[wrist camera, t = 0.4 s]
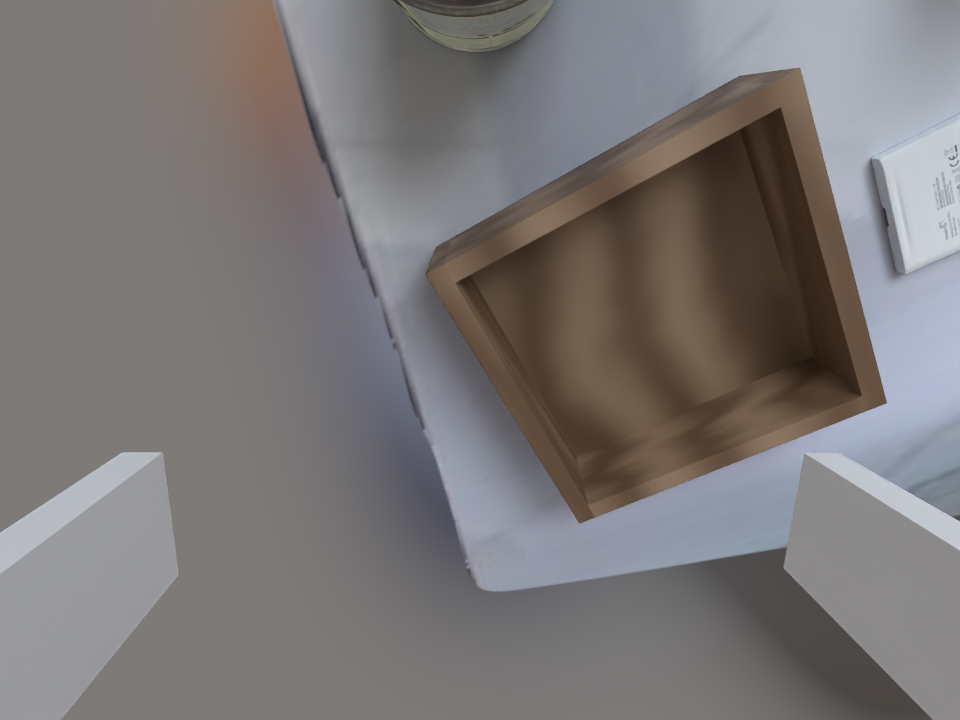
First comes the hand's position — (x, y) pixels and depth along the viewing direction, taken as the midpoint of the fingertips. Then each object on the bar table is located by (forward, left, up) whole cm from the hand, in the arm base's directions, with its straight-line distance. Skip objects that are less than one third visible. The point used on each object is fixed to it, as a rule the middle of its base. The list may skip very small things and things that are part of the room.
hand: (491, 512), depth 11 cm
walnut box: (-7, +9, -26) cm, 28 cm away
